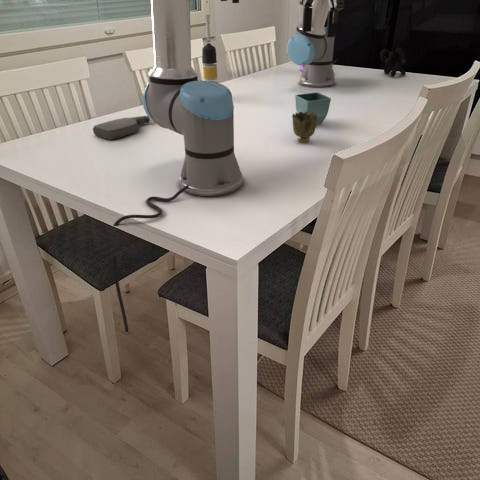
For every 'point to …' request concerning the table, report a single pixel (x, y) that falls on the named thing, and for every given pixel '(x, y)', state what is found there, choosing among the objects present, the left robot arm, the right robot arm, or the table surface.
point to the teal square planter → (313, 105)
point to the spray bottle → (119, 127)
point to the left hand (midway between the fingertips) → (318, 34)
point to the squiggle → (393, 62)
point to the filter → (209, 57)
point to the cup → (304, 125)
